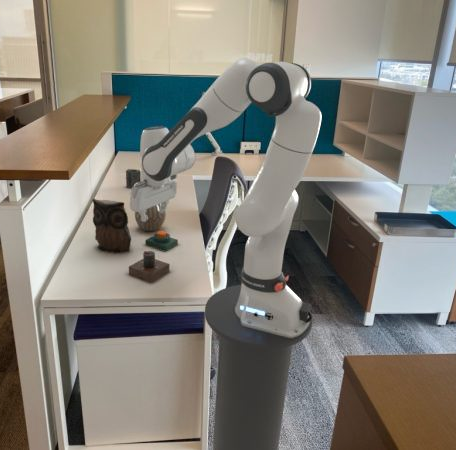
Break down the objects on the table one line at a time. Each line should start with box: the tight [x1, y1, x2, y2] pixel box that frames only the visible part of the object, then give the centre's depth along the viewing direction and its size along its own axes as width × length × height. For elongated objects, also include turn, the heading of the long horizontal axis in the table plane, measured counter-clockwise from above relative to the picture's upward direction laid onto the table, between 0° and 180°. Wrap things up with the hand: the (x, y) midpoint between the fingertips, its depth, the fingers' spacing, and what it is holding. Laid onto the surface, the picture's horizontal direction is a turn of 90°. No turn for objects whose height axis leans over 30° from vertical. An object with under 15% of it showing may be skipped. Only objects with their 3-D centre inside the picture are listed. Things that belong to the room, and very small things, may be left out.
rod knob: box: [142, 250, 156, 268], centre depth 153 cm, size 4×4×5 cm
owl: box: [92, 198, 132, 254], centre depth 169 cm, size 13×13×20 cm
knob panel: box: [128, 258, 170, 283], centre depth 155 cm, size 10×10×3 cm
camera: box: [125, 168, 140, 189], centre depth 243 cm, size 16×4×10 cm, turn 77°
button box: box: [145, 232, 179, 252], centre depth 177 cm, size 10×8×4 cm
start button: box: [156, 230, 167, 238], centre depth 176 cm, size 4×4×2 cm
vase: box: [134, 203, 167, 232], centre depth 189 cm, size 13×13×18 cm
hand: (153, 216), depth 148 cm, fingers open, 8 cm apart
